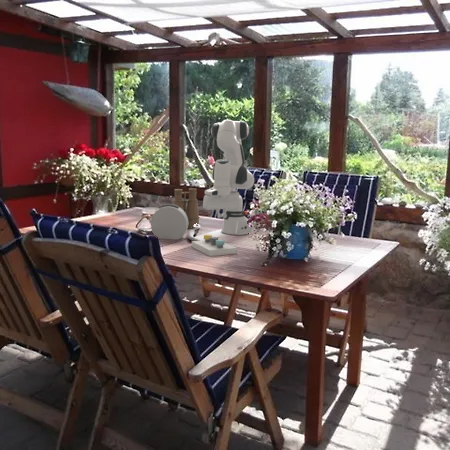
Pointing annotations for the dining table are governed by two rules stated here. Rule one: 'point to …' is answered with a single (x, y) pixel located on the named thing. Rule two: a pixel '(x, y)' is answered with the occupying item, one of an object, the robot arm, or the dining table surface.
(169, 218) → the grey round slab
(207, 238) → the button mustard
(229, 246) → the panel
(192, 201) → the binoculars
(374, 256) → the dining table surface
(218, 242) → the button teal
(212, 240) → the button charcoal
